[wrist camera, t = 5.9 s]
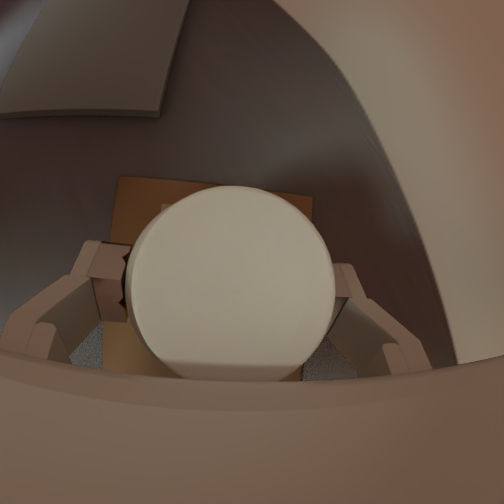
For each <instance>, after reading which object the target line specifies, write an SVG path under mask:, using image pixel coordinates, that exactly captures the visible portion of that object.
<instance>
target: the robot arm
mask: <svg viewBox="0 0 504 504" xmlns="http://www.w3.org/2000/svg"><path fill="white" fill-rule="evenodd" d="M133 247H134V246H133V245H132V244H123V243H115V242H106V241H96V240H87V241H85V242H84V244H83V246H82V249H81V251H80V253H79V255H78V257H77V259H76V262H75V264H74V266H73V268H72V270H71V273H70V275H64V276H63V277H61V278H60V279H58V280H57V281H55V282H54V283H53V284H51V285H50V286H48V287H47V288H46V289H44V290H43V291H41V292H40V293H39V294H37V295H36V296H34V297H33V298H32V299H30V300H29V301H28V302H26V303H25V304H24V305H22V306H21V307H20V308H18V309H17V310H16V311H14V312H13V313H12V314H10V316H9V319H8V321H7V323H6V325H5V328H4V330H3V332H2V335H1V337H0V504H504V355H502V356H498V357H494V358H490V359H485V360H480V361H475V362H470V363H465V364H460V365H455V366H449V367H443V368H437V369H432V367H431V365H430V362H429V360H428V358H427V355H426V353H425V351H424V348H423V346H422V344H421V342H420V340H419V339H418V338H416V337H415V336H414V335H413V334H412V333H411V332H409V331H408V330H407V329H406V328H405V327H404V326H402V325H401V324H400V323H399V322H398V321H397V320H395V319H394V318H393V317H392V316H391V315H390V314H388V313H387V312H386V311H385V310H384V309H382V308H381V307H380V306H379V305H378V304H376V303H375V302H374V301H373V300H372V299H367V297H366V295H365V293H364V290H363V288H362V286H361V284H360V281H359V279H358V277H357V275H356V272H355V270H354V268H353V266H352V265H351V264H349V263H332V265H333V268H334V274H335V293H336V294H335V304H334V310H333V314H332V318H331V321H330V323H329V326H328V328H327V331H326V333H325V335H327V337H328V338H329V340H330V341H331V342H332V343H333V344H334V346H335V347H336V348H337V349H338V350H339V352H340V353H341V354H342V355H343V356H344V357H345V359H346V360H347V361H348V362H349V363H350V365H351V366H352V367H353V368H354V369H355V370H356V372H357V373H358V374H359V375H358V376H357V378H352V379H338V380H320V381H292V382H241V381H213V380H196V379H181V378H169V377H158V376H149V375H140V374H131V373H123V372H116V371H109V370H102V369H96V368H89V367H83V366H78V365H72V363H71V361H70V359H69V355H70V354H71V353H72V352H73V351H74V350H75V349H76V348H77V347H78V345H79V344H80V343H81V342H82V341H83V340H84V339H85V338H86V337H87V336H88V335H89V334H90V333H91V332H92V331H93V330H94V328H95V327H96V326H97V325H98V324H99V323H100V322H101V321H111V322H121V323H127V319H128V311H127V306H126V301H125V275H126V268H127V264H128V260H129V257H130V254H131V252H132V249H133ZM100 320H101V321H100Z"/></svg>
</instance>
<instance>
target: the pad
mask: <svg viewBox="0 0 504 504" xmlns="http://www.w3.org/2000/svg"><path fill="white" fill-rule="evenodd" d="M190 2H191V0H48V2H47V3H46V5H45V6H44V8H43V9H42V11H41V12H40V14H39V16H38V17H37V19H36V21H35V22H34V24H33V26H32V27H31V29H30V31H29V33H28V34H27V36H26V38H25V40H24V42H23V43H22V45H21V47H20V49H19V51H18V53H17V55H16V57H15V59H14V61H13V63H12V65H11V67H10V69H9V71H8V73H7V76H6V78H5V80H4V82H3V85H2V87H1V89H0V119H11V118H25V117H43V116H132V117H151V118H159V117H160V112H161V108H162V103H163V99H164V94H165V90H166V86H167V82H168V78H169V74H170V70H171V66H172V62H173V59H174V55H175V51H176V48H177V44H178V41H179V37H180V34H181V30H182V27H183V24H184V20H185V17H186V14H187V11H188V8H189V5H190Z"/></svg>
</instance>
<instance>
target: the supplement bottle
mask: <svg viewBox="0 0 504 504" xmlns="http://www.w3.org/2000/svg"><path fill="white" fill-rule="evenodd" d="M335 294H336V293H335V274H334V268H333V265H332V261H331V257H330V254H329V252H328V249H327V247H326V245H325V242H324V240H323V238H322V237H321V235H320V234H319V232H318V231H317V229H316V228H315V226H314V225H313V224H312V223H311V222H310V221H309V219H308V218H307V217H306V216H305V215H304V214H303V213H302V212H301V211H300V210H299V209H297V208H296V207H295V206H293V205H292V204H290V203H289V202H287V201H286V200H284V199H283V198H281V197H279V196H277V195H275V194H272V193H269V192H266V191H264V190H261V189H258V188H251V187H244V186H218V187H213V188H209V189H205V190H201V191H198V192H196V193H194V194H191V195H189V196H187V197H185V198H183V199H181V200H180V201H178V202H176V203H174V204H172V205H171V206H169V207H167V208H166V209H165V210H163V211H162V212H161V213H160V214H158V215H157V216H156V217H155V218H154V219H153V220H152V221H151V222H150V223H149V224H148V225H147V226H146V228H145V229H144V230H143V232H142V233H141V235H140V236H139V238H138V239H137V241H136V243H135V245H134V247H133V249H132V252H131V254H130V257H129V260H128V264H127V268H126V275H125V301H126V306H127V311H128V315H129V318H130V321H131V323H132V326H133V328H134V330H135V332H136V334H137V336H138V338H139V339H140V341H141V342H142V344H143V345H144V346H145V348H146V349H147V350H148V351H149V352H150V353H151V354H152V356H153V357H154V358H156V359H157V360H158V361H159V362H160V363H161V364H163V365H164V366H165V367H167V368H168V369H170V370H171V371H173V372H174V373H176V374H177V375H179V376H180V377H182V378H184V379H196V380H213V381H241V382H277V381H279V380H281V379H283V378H285V377H287V376H288V375H290V374H291V373H293V372H294V371H295V370H297V369H298V368H299V367H300V366H301V365H302V364H303V363H304V362H305V361H306V360H307V359H308V358H309V357H310V356H311V355H312V354H313V352H314V351H315V350H316V349H317V347H318V345H319V344H320V342H321V341H322V339H323V337H324V335H325V333H326V331H327V328H328V326H329V323H330V321H331V318H332V314H333V310H334V304H335Z"/></svg>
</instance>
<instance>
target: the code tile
mask: <svg viewBox="0 0 504 504" xmlns="http://www.w3.org/2000/svg"><path fill="white" fill-rule="evenodd" d="M218 186H226V185H217V184H208V183H198V182H188V181H178V180H167V179H155V178H142V177H128V176H119V179H118V185H117V191H116V197H115V203H114V210H113V217H112V224H111V231H110V240H109V242H115V243H123V244H132V245H133V246H134V245H135V243H136V241H137V239H138V238H139V236H140V235H141V233H142V232H143V230H144V229H145V228H146V226H147V225H148V224H149V223H150V222H151V221H152V220H153V219H154V218H155V217H156V216H157V215H158V214H160V213H161V212H162V211H163V210H165V209H166V208H167V207H169V206H171V205H172V204H174V203H176V202H178V201H180V200H181V199H183V198H185V197H187V196H189V195H191V194H194V193H196V192H198V191H201V190H205V189H209V188H213V187H218ZM264 191H266V192H269V193H272V194H275V195H277V196H279V197H281V198H283V199H284V200H286V201H287V202H289V203H290V204H292V205H293V206H295V207H296V208H297V209H299V210H300V211H301V212H302V213H303V214H304V215H305V216H306V217H307V218H308V219H309V221H310V222H311V223H312V206H313V197H310V196H303V195H296V194H289V193H282V192H275V191H267V190H264ZM102 370H109V371H116V372H123V373H131V374H140V375H149V376H158V377H169V378H181V379H184V378H182V377H180V376H179V375H177V374H176V373H174V372H173V371H171V370H170V369H168V368H167V367H165V366H164V365H163V364H161V363H160V362H159V361H158V360H157V359H156V358H154V357H153V356H152V354H151V353H150V352H149V351H148V350H147V349H146V348H145V346H144V345H143V344H142V342H141V341H140V339H139V338H138V336H137V334H136V332H135V330H134V328H133V326H132V323H131V321H130V318H129V315H128V319H127V323H121V322H111V321H103V342H102ZM301 370H302V365H301V366H300V367H299V368H298V369H297V370H295V371H294V372H293V373H291V374H290V375H288V376H287V377H285V378H283V379H281V380H279V381H277V382H292V381H300V380H301Z"/></svg>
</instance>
